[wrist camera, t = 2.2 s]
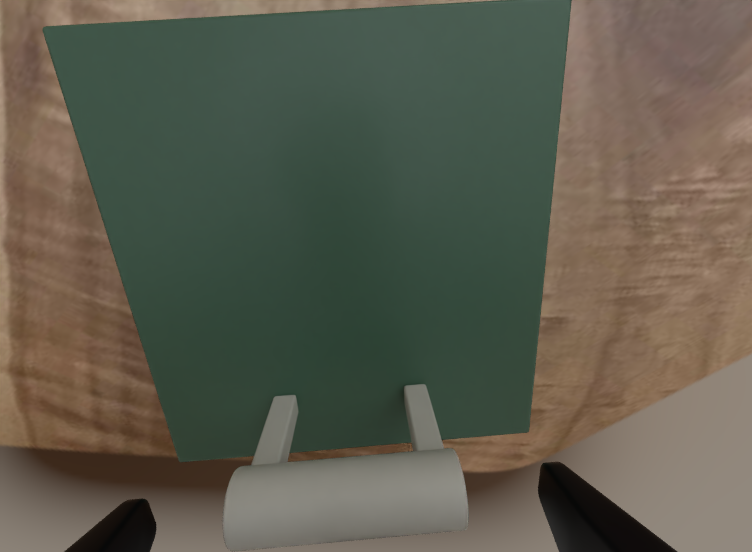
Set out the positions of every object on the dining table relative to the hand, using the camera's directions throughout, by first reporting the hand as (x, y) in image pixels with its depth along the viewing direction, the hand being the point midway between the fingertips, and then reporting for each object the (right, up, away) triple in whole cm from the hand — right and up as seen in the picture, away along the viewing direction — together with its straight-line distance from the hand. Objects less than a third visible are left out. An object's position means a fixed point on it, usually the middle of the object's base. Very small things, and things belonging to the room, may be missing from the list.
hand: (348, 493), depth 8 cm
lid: (0, +5, +2) cm, 6 cm away
